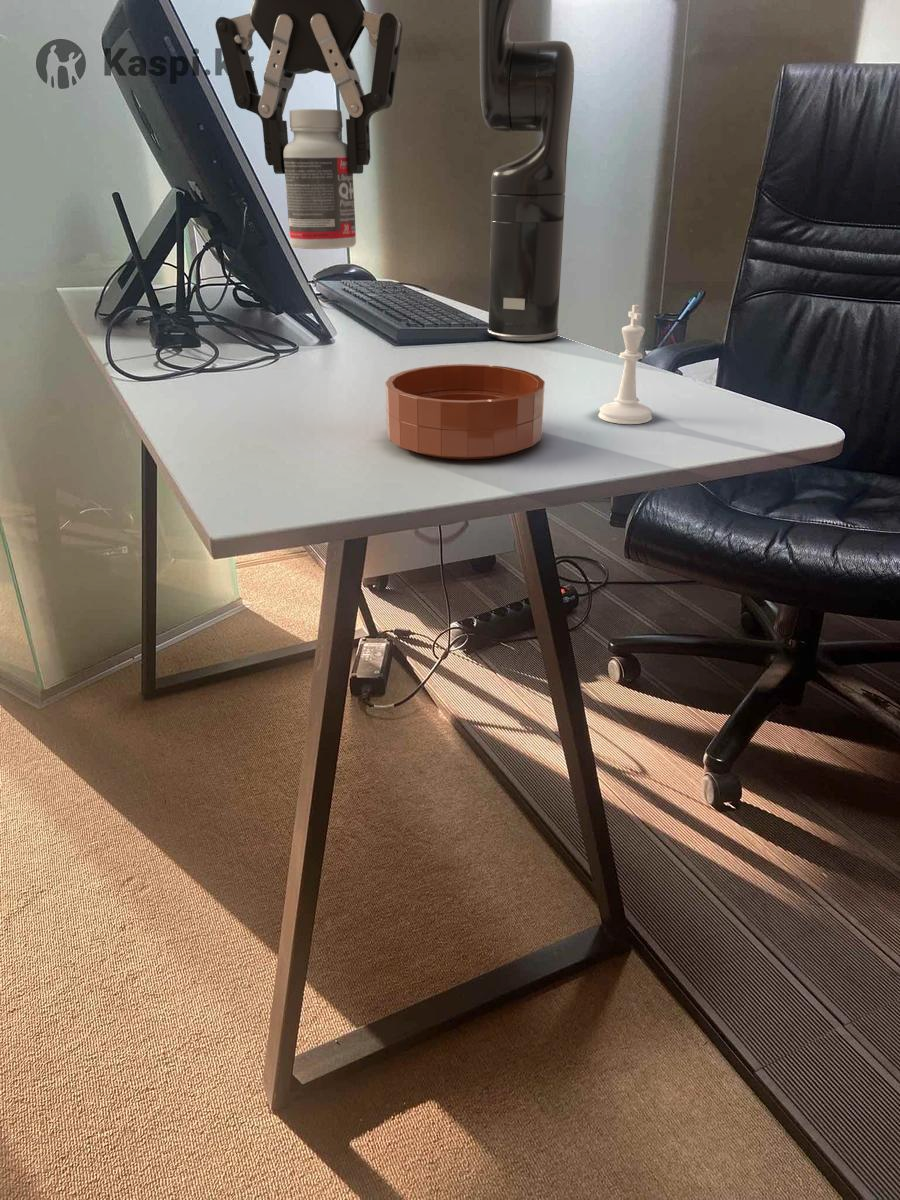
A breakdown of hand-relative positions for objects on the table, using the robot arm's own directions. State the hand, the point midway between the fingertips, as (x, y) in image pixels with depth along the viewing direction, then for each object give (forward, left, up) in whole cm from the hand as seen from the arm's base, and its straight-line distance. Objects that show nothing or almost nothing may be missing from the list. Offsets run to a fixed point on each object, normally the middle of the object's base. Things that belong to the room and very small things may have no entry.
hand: (318, 172), depth 68 cm
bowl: (+2, +12, -21) cm, 24 cm away
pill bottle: (0, 0, -6) cm, 6 cm away
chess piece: (-7, +26, -21) cm, 34 cm away
